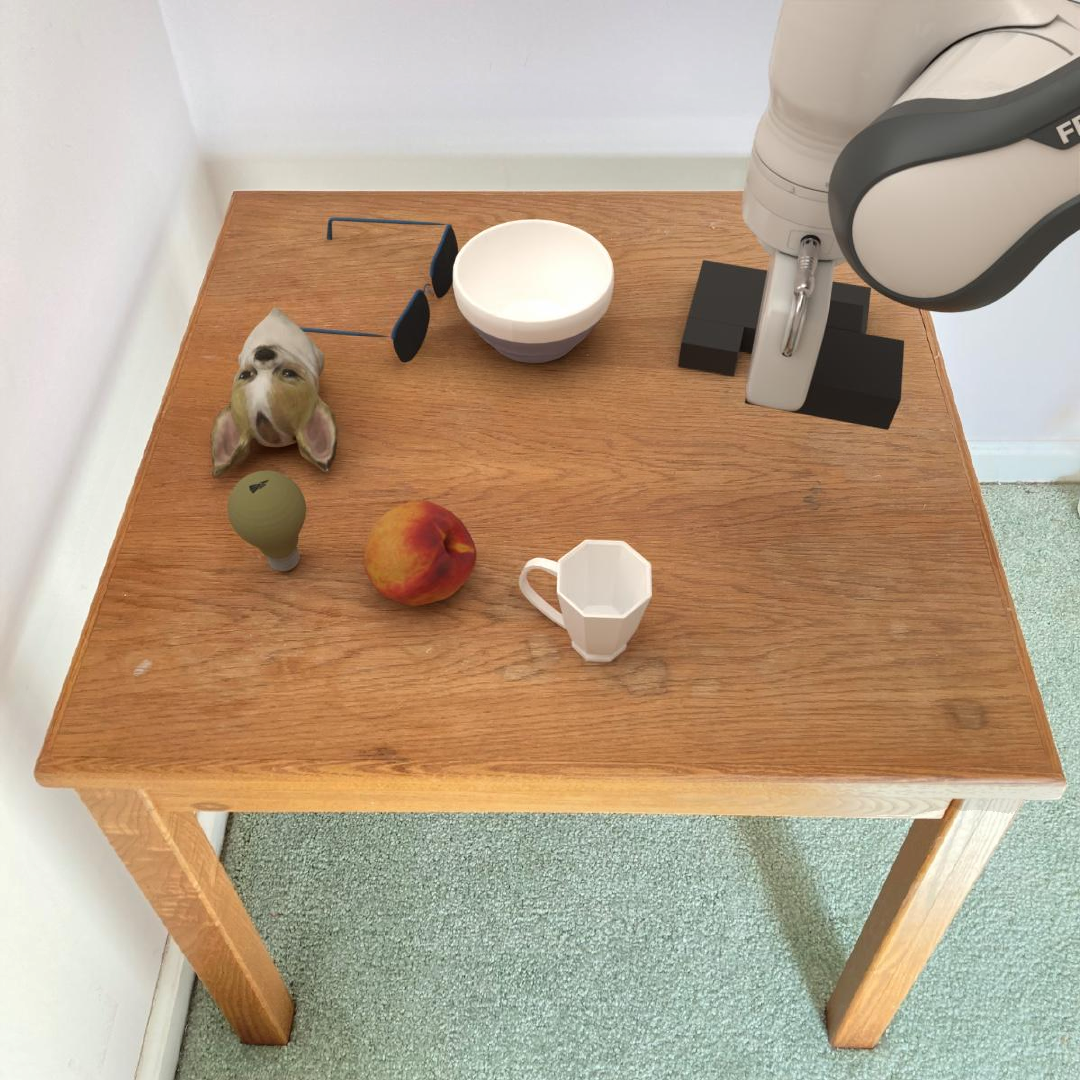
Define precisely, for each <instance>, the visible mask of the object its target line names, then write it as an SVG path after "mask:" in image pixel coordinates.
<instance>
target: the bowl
mask: <svg viewBox="0 0 1080 1080" xmlns="http://www.w3.org/2000/svg"><path fill="white" fill-rule="evenodd" d="M614 286H615V271H614V264H613V260H612V258H611V256H610V253H609V251H608V250H607V249H606V248H605V247H604V245H603V244H602V242H600V241H599V240H598V239H596V237H594V236H593V235H592V234H590V233H588V232H586V231H585V230H583V229H581V228H579V227H576V226H573V225H570V224H568V223H564V222H560V221H557V220H556V221H555V220H549V219H539V218H538V219H536V218H535V219H533V218H532V219H519V220H512V221H506V222H503V223H500V224H497V225H493V226H491V227H489V228H487V229H484V230H482V231H481V232H479V233H478V234H476V235H475V236H473V237H472V238H470V239H469V240H468V241H467V242H466V243H465V244H464V245H463V246H462V247H461V249H460V251H458V255H457V256H456V260H455V263H454V266H453V282H452V289H453V294H454V298H455V302H456V304H457V308H458V309H459V311H460V312H461V314H462V316H463V317H464V318H465V320H466V321H467V322H468V324H469V326H470V327H472V329H473V330H475V331H476V333H477V334H478V336H480V338H481V339H483V341H484V342H485V343H487V344H488V345H491V346H492V347H493V348H494V350H496V351H497V352H498V353H500V354H501V355H502V356H504V357H505V358H508V359H511V360H513V361H516V362H521V363H527V364H528V363H529V364H541V363H547V362H551V361H554V360H557V359H560V358H561V357H564V356H565V355H566V354H568V353H569V352H570V351H572V350H573V348H575V347H576V346H577V345H578V344H579V343H581V342H582V341H583V340H585V339H586V338H587V336H588V335H589V334H590V333H591V332H592V331H593V330H594V329H595V327H596V326H597V325H598V324H599V322H600V321H601V320H602V318H603V317H604V315H605V314H606V312H607V311H608V308H609V307H610V304H611V301H612V298H613V291H614Z"/></svg>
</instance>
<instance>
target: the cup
mask: <svg viewBox="0 0 1080 1080" xmlns="http://www.w3.org/2000/svg"><path fill="white" fill-rule="evenodd" d="M534 569H537V570H542V571H544V572H546V573H548V574H550V575H552V576H554V577H556V578H557V579H556V595H557V600H558V604H559V606H560V611H561V612H559V611H558V610H556V609H555V608H554V607H553V606H552V605H551V604H550V603H549V602H547V601H546V600H545V599H543V598H542V597H541V596H540V595H539V594H538V593H537V592H536V591H535V590H534V589H533V588H532V587H531V585H530V583H529V580H528V578H527V577H528V572H529V571H532V570H534ZM518 586H519V589H520V591H521V593H522V595H523V596H524V597H525V598H526V599H527V601H529V603H530V604H532V605H533V606H534V607H535V608H536V609H537V610H539V612H541V613H542V614H543V615H545V616H546V617H547V618H548V619H549V620H551V621H552V622H553V623H555V624H557V625H558V626H559V627H561V628H562V629H565V630H566V631H567V634H568V636H569V638H570V640H571V648H573V649H574V650H575V652H576V653H578V654H579V655H580V656H581V657H582V658H583V659H584V660H585V661H586V662H600V663H611V662H612V661H613V660H615V659H616V658H617V657H618V656H619V655H621V654H622V653H623V652H624V651H626V650H627V643H628V642H629V641H630V639H631V638H632V637H633V636H634V635H635V632H636V631H637V630H638V629H639V625H640V623H641V621H642V619H643V616H644V614H645V612H646V610H647V607H648V605H649V603H650V601H651V599H652V596H653V591H652V590H653V589H652V588H653V586H652V563H651V562H650V561H649V560H647V559H646V558H645V557H644V556H642V554H640V553H639V552H638V551H636V549H635V548H633V547H632V546H631V545H629V544H628V543H627V542H626V541H624V540H613V539H610V540H609V539H608V540H607V539H584V540H583V541H582V542H581V543H579V544H578V545H577V546H575V547H573V549H571V550H570V551H568V552H567V553H566V554H565V555H563V556H562V557H560V558H559V559H558V560H557V561H554V560H552V559H548V558H545V557H535V558H532V559H529V560H527V561H526V564H525V565H524V566H523V568H522V570H521V573H520V574H519V577H518Z"/></svg>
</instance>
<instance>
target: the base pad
mask: <svg viewBox="0 0 1080 1080" xmlns="http://www.w3.org/2000/svg"><path fill="white" fill-rule="evenodd" d="M701 262H702V263H701V266H700V270H699V275H698V276H697V277H698V278H697V282H696V286H695V288H694V292H693V296H692V300H691V304H690V307H689V311H688V315H687V319H686V322H685V325H684V330H683V334H682V338H681V342H680V349H679V355H678V360H677V361H678V363H677V367H678V368H685V369H691V370H695V371H701V372H702V371H703V372H707V373H712V374H719V375H723V376H727V377H728V376H729V377H734V376H735V373H736V370H737V369H736V368H737V363H738V358H739V354H740V352H744V353H749V354H752V350H753V345H754V340H755V334H756V329H757V324H758V318H759V313H760V307H761V302H762V297H763V291H764V286H765V281H766V275H767V270H768V269H760V268H754V267H749V266H742V265H738V264H737V265H736V264H730V263H724V262H719V261H712V260H707V259H702V261H701ZM871 292H872V288H871V287H870V286H864V285H858V284H851V283H844V282H840V281H834V280H833V282H832V290H831V298H830V300H833V301H839V302H845V303H851V304H857V305H863V306H864V309H863V319H862V330H861V333H864V334H867V330H868V320H869V311H870V302H871Z"/></svg>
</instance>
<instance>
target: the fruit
mask: <svg viewBox="0 0 1080 1080" xmlns="http://www.w3.org/2000/svg"><path fill="white" fill-rule="evenodd" d="M477 553H478V552H477V548H476V543H475V541H474V539H473V537H472V535H471V534H470V532H469V529H467V527H466V525H465V524H464V522H463V521H462V520H461V518H459V517H458V516H456V515H455V513H453V512H452V511H451V510H449V509H448V508H445V507H443V506H441V505H439V504H436V503H434V502H431V501H428V500H417V501H415V500H414V501H410V502H406V503H404V504H401V505H397V506H395V507H393V508H392V509H390V510H388V511H386V512H385V513H384V514H383V515H382V516H380V517H379V518H378V519H377V520H376V522H375V523H373V525H372V527H371V528H370V531H369V533H368V535H367V537H366V539H365V542H364V547H363V552H362V558H363V559H362V560H363V565H364V570H365V572H366V575H367V577H368V579H369V581H370V583H371V584H372V585H373V587H374V588H375V589H376V590H377V591H378V593H380V595H382V596H384V597H385V598H387V599H390V600H392V601H396V602H400V603H402V604H404V605H405V606H406V605H407V606H412V607H413V606H422V605H423V606H424V605H428V604H431V603H436V602H439V601H443V600H446V599H448V598H450V597H451V596H452V595H454V594H455V593H456V592H457V591H458V590H460V589H461V587H462V586H463V585H464V583H466V581H467V580H468V578H469V577H470V575H471V574H472V573H473V570H474V568H475V566H476V564H477V557H478V556H477V555H478V554H477Z"/></svg>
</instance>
